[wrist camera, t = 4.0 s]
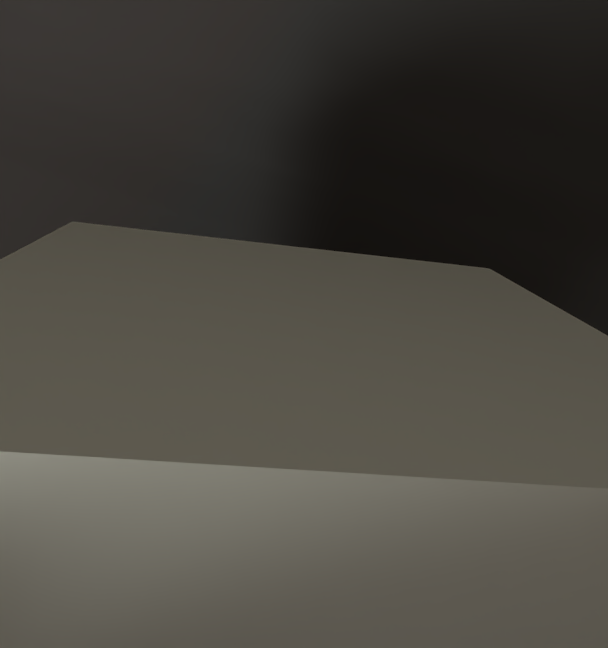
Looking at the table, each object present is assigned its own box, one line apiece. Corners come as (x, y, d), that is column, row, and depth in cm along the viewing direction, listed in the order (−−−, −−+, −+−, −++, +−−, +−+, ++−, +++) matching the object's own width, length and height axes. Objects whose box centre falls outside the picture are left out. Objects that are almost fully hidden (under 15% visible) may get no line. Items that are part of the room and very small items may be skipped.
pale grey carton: (68, 664, 11) (-136, 1277, 5) (71, 221, 8) (-327, 432, 3) (395, 669, 12) (543, 1202, 6) (488, 268, 9) (910, 507, 3)
